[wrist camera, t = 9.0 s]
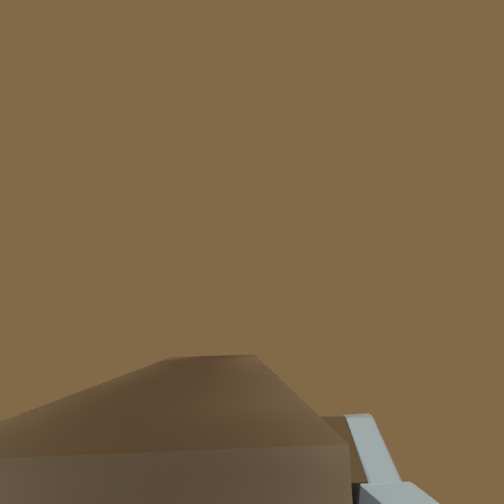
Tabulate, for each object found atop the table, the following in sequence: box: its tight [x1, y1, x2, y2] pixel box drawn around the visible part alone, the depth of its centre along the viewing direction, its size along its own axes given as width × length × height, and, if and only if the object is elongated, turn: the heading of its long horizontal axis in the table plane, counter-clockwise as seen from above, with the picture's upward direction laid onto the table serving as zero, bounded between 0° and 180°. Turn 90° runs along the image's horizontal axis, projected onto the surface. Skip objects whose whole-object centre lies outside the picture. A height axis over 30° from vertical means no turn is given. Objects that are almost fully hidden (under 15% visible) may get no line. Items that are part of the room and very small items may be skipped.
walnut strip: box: [0, 355, 353, 504], centre depth 13 cm, size 4×18×3 cm, turn 2°
